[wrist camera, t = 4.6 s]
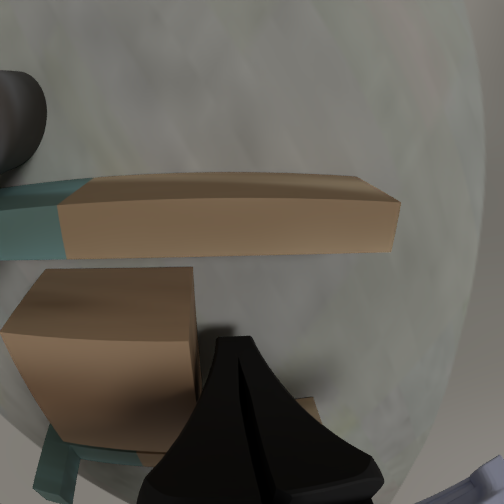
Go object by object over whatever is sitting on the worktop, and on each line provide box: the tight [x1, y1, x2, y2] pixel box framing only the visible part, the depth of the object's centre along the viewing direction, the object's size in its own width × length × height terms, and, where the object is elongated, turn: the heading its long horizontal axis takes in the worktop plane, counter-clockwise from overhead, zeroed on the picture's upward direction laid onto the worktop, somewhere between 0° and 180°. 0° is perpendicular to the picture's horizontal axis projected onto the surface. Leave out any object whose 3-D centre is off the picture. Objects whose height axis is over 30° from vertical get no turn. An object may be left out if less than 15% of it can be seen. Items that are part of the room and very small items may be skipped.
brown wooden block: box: [0, 267, 202, 452], centre depth 11 cm, size 6×6×4 cm
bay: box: [0, 70, 401, 504], centre depth 9 cm, size 17×14×6 cm
